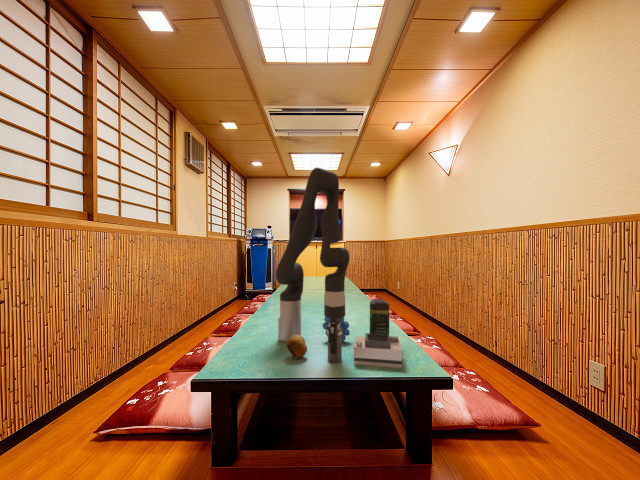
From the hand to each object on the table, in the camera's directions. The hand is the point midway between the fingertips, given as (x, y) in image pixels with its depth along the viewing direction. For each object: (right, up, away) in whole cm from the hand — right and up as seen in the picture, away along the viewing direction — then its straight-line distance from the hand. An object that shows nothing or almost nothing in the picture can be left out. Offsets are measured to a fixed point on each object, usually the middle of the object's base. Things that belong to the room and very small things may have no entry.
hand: (334, 350), depth 103 cm
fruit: (-14, -4, +3) cm, 14 cm away
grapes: (+2, -4, +19) cm, 19 cm away
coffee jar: (+19, -4, +16) cm, 25 cm away
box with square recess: (+15, -3, 0) cm, 16 cm away
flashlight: (0, -3, 0) cm, 3 cm away
